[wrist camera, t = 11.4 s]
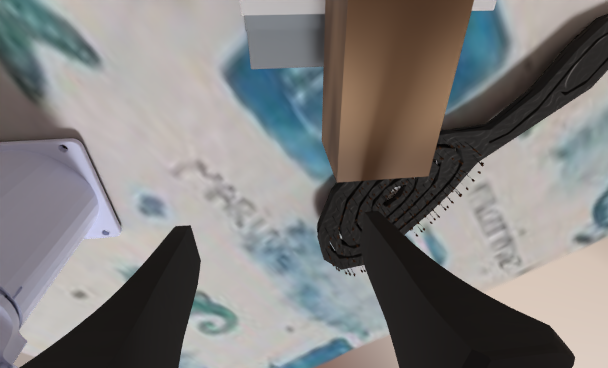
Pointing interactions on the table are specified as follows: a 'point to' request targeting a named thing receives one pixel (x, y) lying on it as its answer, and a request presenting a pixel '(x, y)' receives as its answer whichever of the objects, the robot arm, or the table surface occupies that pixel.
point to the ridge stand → (293, 31)
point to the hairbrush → (458, 153)
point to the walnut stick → (388, 83)
